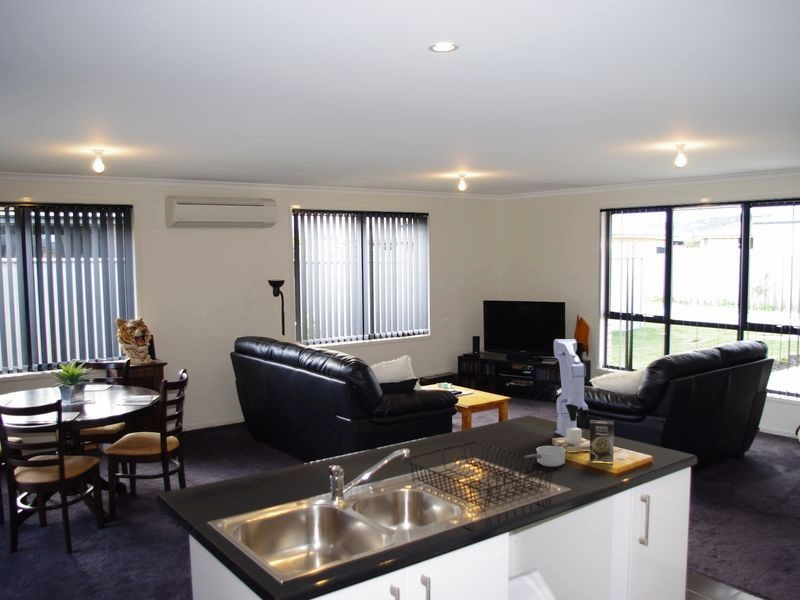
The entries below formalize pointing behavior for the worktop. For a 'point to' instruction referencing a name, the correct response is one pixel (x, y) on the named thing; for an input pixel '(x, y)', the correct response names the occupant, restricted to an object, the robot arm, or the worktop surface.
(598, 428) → the coffee box
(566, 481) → the worktop surface
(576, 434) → the plug
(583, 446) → the socket
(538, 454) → the saucepan
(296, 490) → the worktop surface
